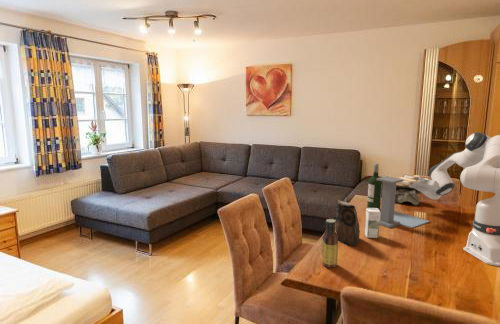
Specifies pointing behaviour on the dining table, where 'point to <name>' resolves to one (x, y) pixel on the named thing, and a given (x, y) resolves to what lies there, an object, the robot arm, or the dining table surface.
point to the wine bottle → (374, 190)
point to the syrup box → (372, 222)
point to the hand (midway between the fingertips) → (414, 177)
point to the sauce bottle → (330, 245)
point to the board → (409, 180)
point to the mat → (408, 220)
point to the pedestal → (388, 201)
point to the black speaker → (347, 223)
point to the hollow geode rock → (406, 194)
